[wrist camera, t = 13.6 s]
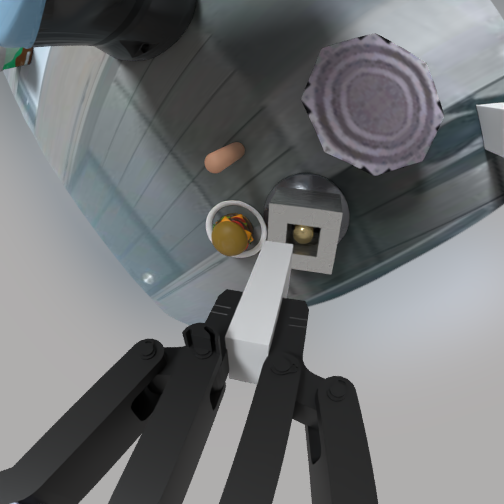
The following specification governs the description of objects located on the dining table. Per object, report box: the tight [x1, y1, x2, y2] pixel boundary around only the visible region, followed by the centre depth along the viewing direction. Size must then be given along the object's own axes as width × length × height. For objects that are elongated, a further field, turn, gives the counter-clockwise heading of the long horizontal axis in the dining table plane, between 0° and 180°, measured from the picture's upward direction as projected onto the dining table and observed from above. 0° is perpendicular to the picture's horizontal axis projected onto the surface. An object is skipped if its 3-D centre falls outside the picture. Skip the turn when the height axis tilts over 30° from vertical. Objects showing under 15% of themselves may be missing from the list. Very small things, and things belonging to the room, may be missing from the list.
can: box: [301, 33, 444, 176], centre depth 22 cm, size 11×11×12 cm
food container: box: [0, 46, 33, 71], centre depth 24 cm, size 12×6×10 cm, turn 51°
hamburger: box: [206, 200, 267, 258], centre depth 37 cm, size 12×12×6 cm
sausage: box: [205, 142, 245, 173], centre depth 30 cm, size 2×2×8 cm
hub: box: [264, 173, 349, 244], centre depth 33 cm, size 11×11×6 cm
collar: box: [268, 187, 343, 274], centre depth 32 cm, size 8×8×6 cm
